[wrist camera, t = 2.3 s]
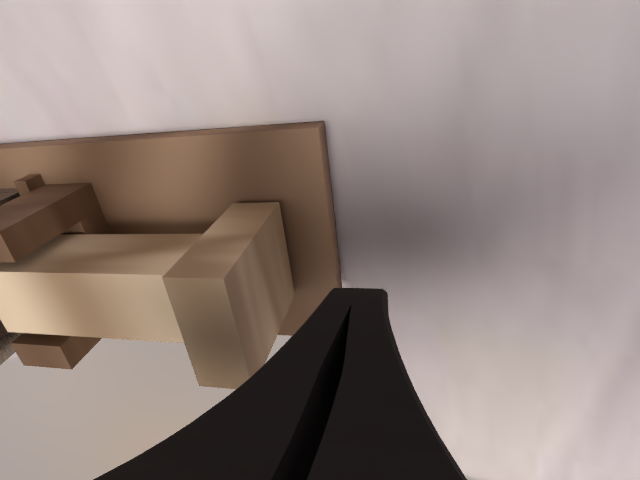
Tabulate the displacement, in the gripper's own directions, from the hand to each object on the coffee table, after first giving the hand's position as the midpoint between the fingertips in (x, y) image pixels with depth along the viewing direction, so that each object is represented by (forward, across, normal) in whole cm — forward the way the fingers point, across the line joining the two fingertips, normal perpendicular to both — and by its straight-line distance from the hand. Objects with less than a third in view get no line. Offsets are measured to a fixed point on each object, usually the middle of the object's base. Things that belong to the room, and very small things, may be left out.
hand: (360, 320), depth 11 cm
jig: (+5, +10, 0) cm, 11 cm away
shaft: (+3, +7, 0) cm, 8 cm away
